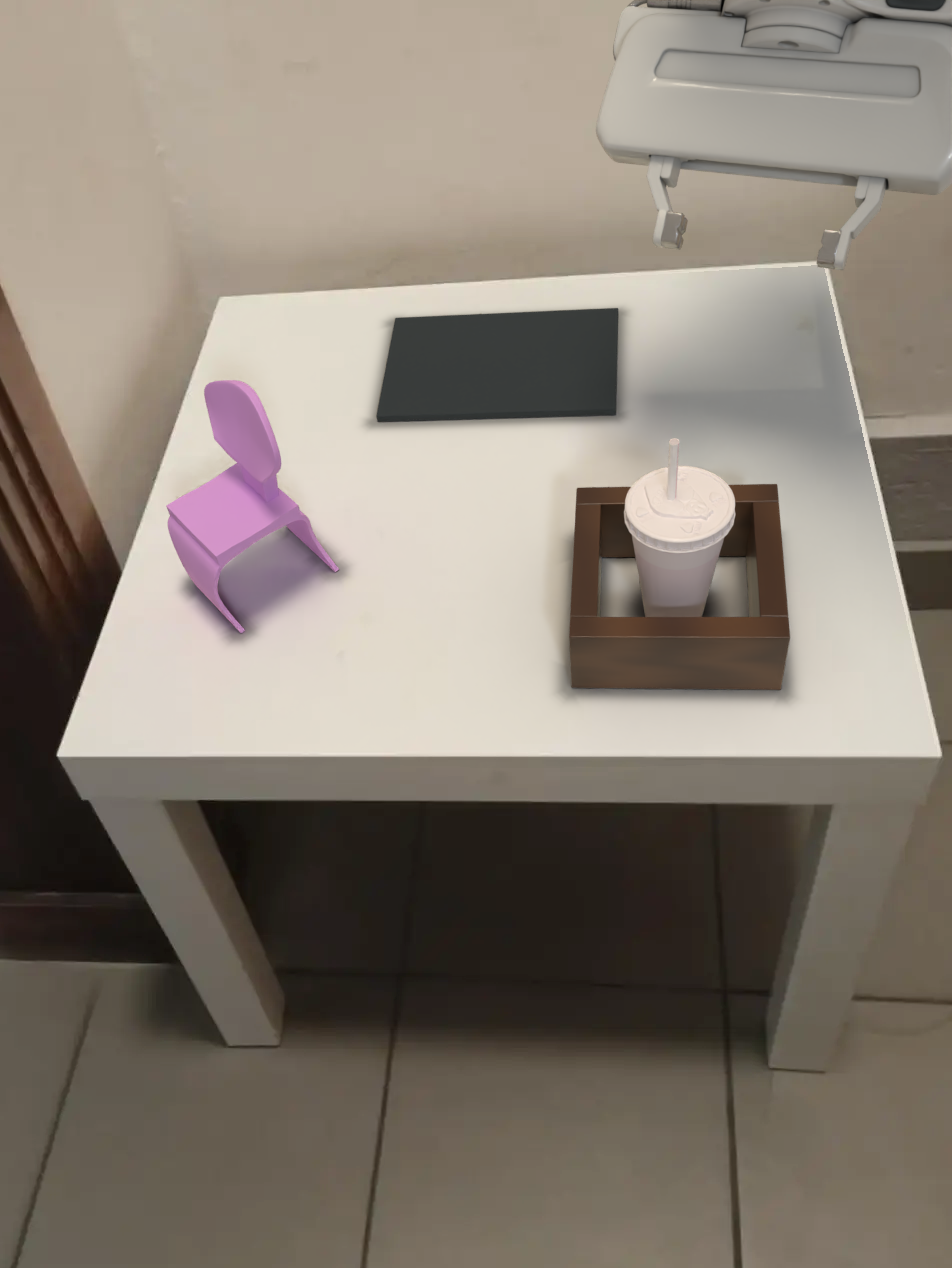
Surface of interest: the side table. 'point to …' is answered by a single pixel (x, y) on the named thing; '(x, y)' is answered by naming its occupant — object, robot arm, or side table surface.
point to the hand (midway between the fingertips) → (746, 256)
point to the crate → (679, 644)
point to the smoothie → (678, 534)
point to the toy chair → (235, 494)
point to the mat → (501, 366)
